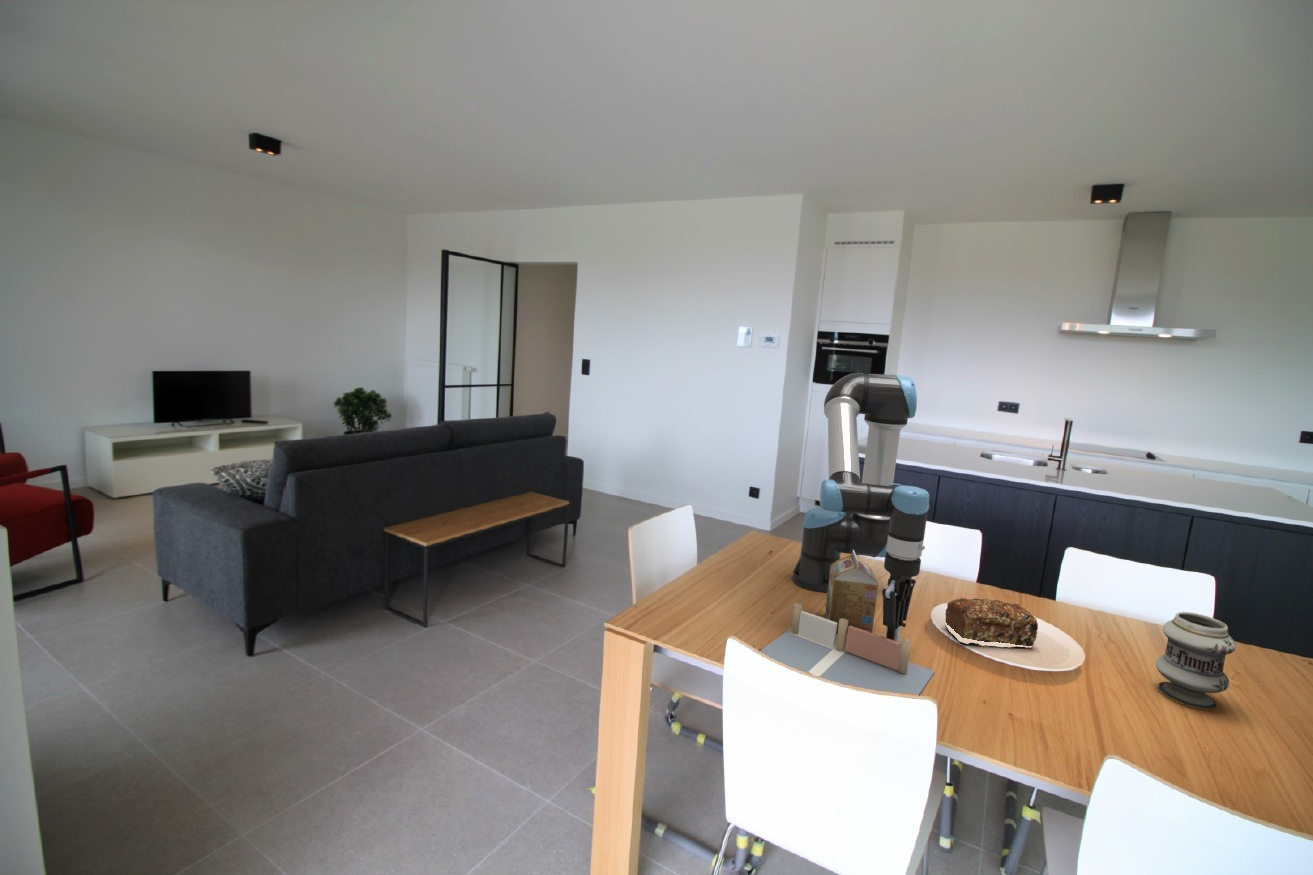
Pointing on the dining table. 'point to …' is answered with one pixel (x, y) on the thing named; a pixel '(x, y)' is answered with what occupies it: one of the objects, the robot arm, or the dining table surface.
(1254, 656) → the dining table surface
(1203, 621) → the apothecary jar
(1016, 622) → the bread
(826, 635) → the fence fixed
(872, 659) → the fence panel
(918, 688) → the board
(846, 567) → the milk carton
